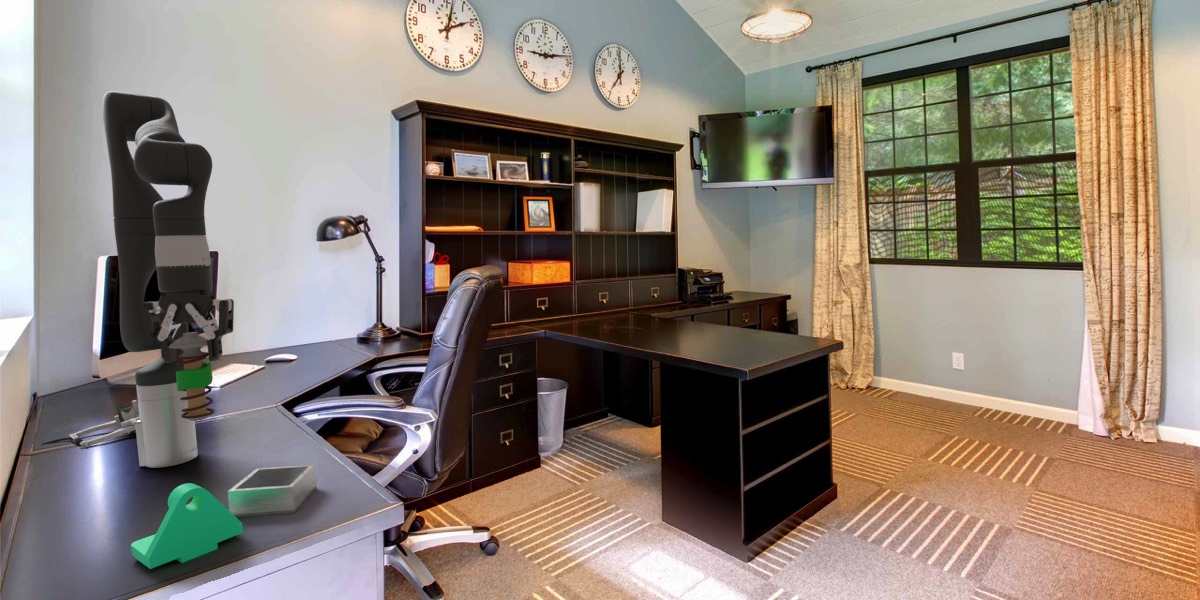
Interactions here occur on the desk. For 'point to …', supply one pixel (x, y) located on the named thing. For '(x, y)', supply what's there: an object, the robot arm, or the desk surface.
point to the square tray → (272, 491)
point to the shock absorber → (194, 376)
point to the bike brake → (123, 418)
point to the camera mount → (187, 528)
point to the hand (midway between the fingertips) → (193, 360)
